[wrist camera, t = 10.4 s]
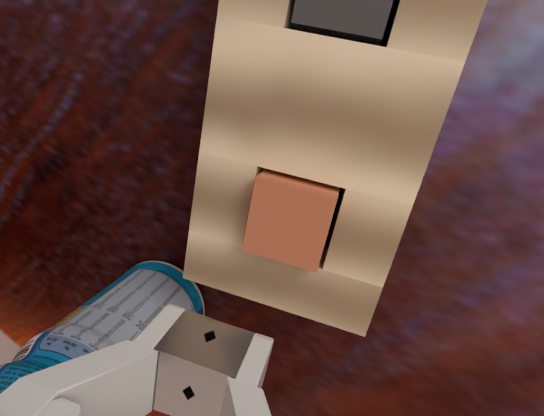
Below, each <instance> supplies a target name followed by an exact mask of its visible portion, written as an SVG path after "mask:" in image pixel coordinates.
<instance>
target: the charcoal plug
mask: <svg viewBox="0 0 544 416" xmlns="http://www.w3.org/2000/svg"><path fill="white" fill-rule="evenodd" d="M392 3H393V0H295V5H294V10H293V15H292V20H291V23H292V24H293V25H294V27H295V28H296V29H297V30H298V31H302V32H308V33H313V34H318V35H324V36H329V37H334V38H340V39H345V40H350V41H356V42H361V43H366V44H372V45H377V46H380V44H381V41H382V38H383V35H384V31H385V28H386V24H387V21H388V17H389V14H390V10H391V7H392Z"/></svg>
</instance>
